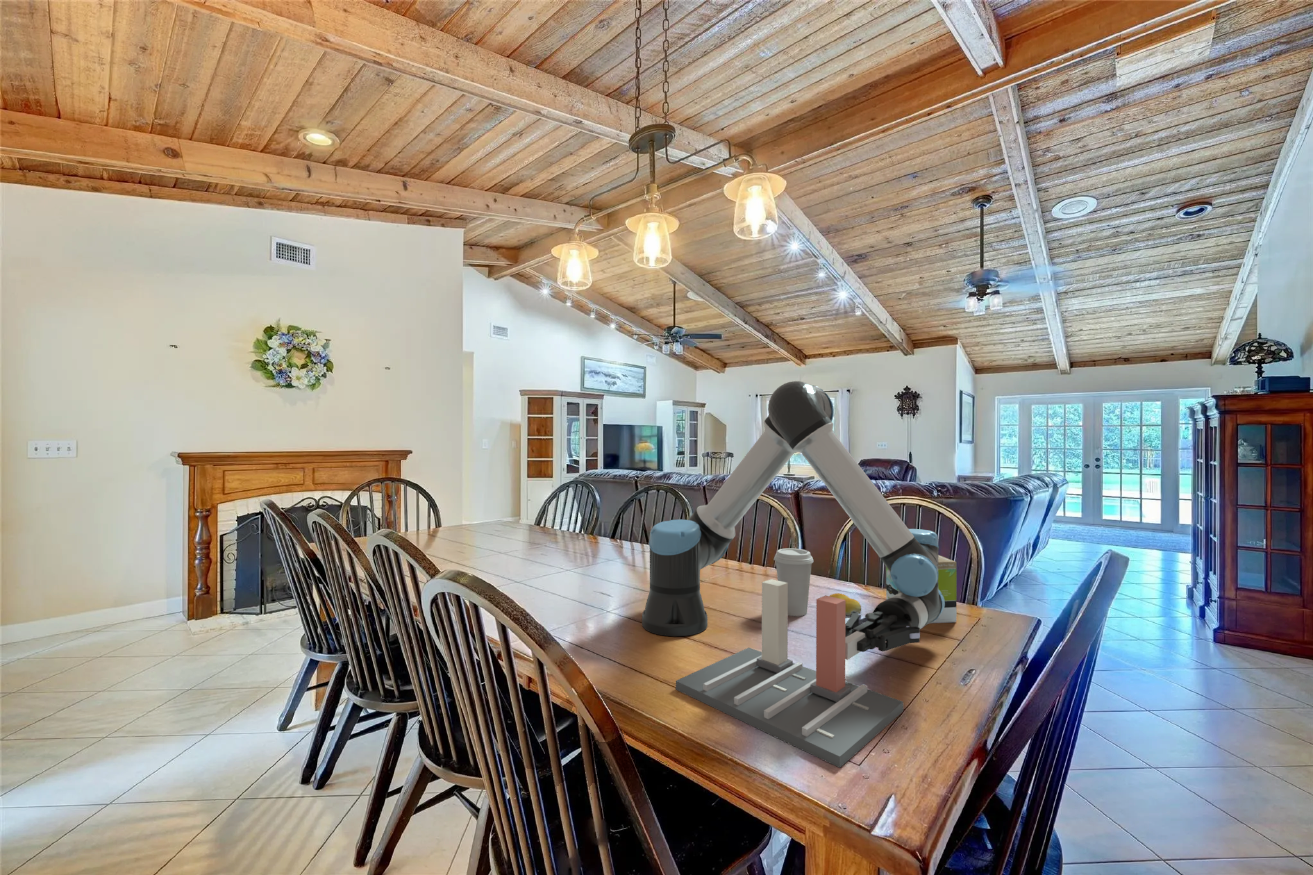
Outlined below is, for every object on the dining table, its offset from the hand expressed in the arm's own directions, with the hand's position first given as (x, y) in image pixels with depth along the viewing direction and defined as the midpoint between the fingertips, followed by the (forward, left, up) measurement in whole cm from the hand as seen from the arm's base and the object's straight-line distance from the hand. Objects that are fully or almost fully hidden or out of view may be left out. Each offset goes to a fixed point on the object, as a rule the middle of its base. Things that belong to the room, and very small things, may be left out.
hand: (843, 650), depth 88 cm
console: (-7, -7, -8) cm, 13 cm away
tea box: (-8, +55, -9) cm, 57 cm away
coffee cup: (-30, +33, -9) cm, 46 cm away
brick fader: (-1, -3, -6) cm, 7 cm away
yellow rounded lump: (-22, +44, -9) cm, 50 cm away
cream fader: (-13, -1, -6) cm, 14 cm away
